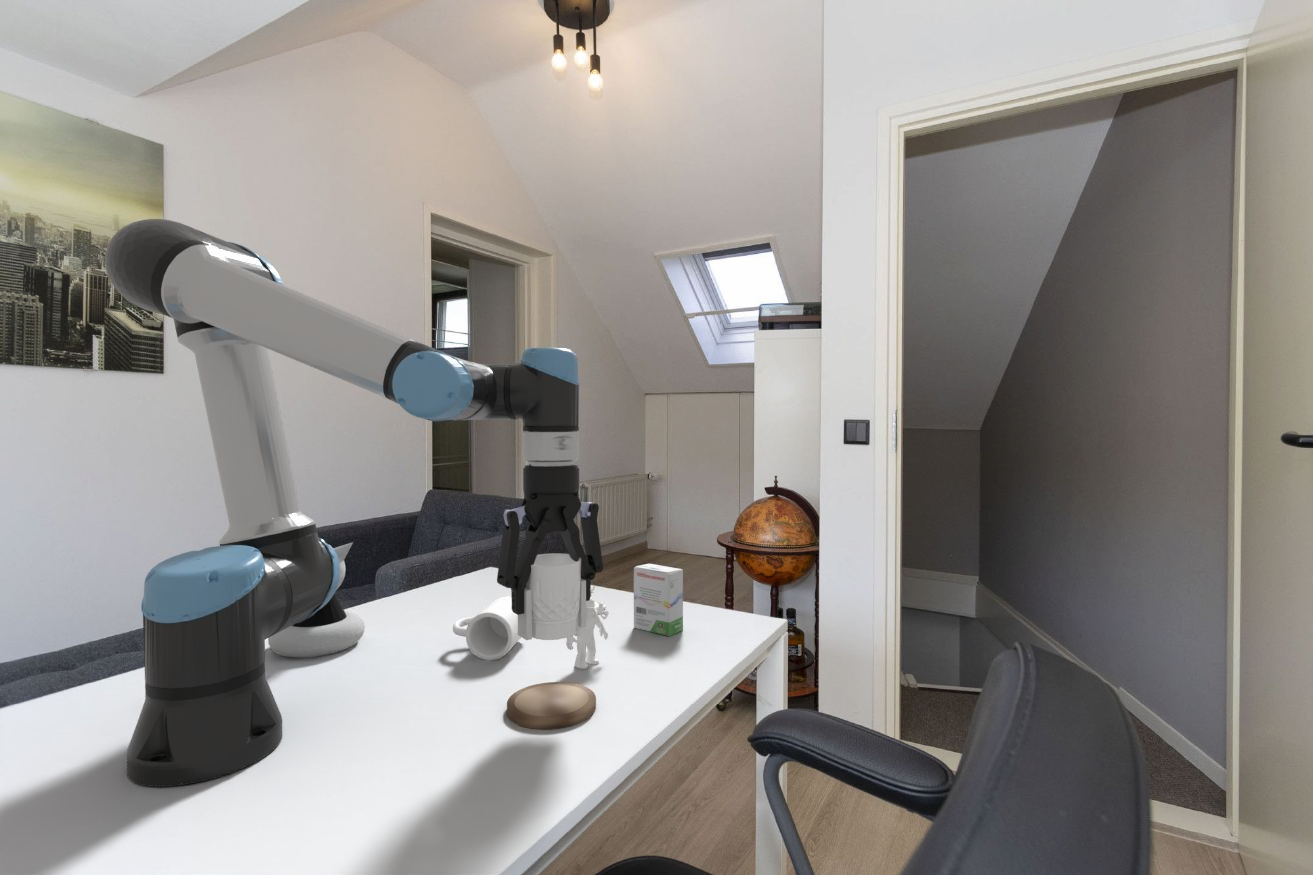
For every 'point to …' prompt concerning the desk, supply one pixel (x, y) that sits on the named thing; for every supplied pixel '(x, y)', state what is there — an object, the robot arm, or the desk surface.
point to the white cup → (554, 596)
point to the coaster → (551, 705)
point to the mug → (490, 630)
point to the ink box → (658, 599)
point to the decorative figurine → (321, 627)
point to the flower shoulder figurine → (588, 634)
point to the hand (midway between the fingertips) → (552, 630)
